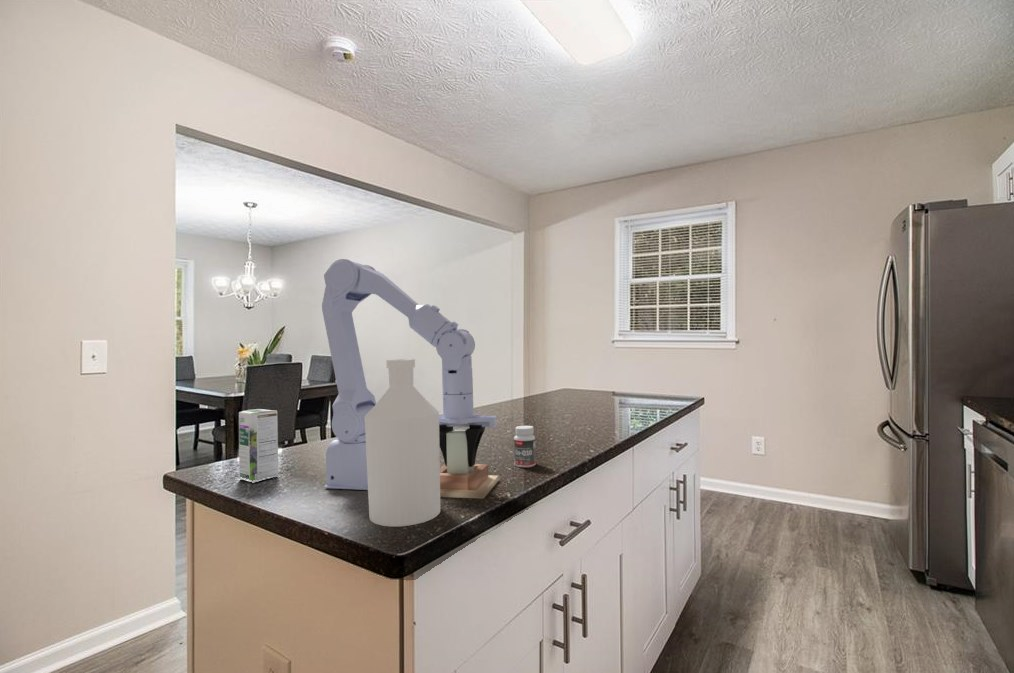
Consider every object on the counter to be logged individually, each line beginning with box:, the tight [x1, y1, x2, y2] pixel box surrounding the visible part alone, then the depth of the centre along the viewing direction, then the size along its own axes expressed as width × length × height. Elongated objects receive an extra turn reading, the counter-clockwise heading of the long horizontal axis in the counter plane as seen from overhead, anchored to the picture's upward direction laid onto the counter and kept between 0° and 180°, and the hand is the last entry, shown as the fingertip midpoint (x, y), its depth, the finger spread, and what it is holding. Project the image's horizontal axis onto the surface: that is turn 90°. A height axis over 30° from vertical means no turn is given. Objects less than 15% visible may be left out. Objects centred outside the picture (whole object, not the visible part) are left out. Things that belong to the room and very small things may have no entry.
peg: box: [446, 429, 474, 474], centre depth 93 cm, size 4×4×8 cm
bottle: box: [365, 358, 441, 527], centre depth 80 cm, size 12×12×25 cm
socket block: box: [440, 463, 500, 500], centre depth 92 cm, size 12×11×4 cm
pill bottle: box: [513, 425, 537, 468], centre depth 108 cm, size 5×5×8 cm
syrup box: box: [238, 408, 279, 481], centre depth 103 cm, size 6×6×14 cm
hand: (460, 465), depth 92 cm, fingers closed on peg, 4 cm apart
